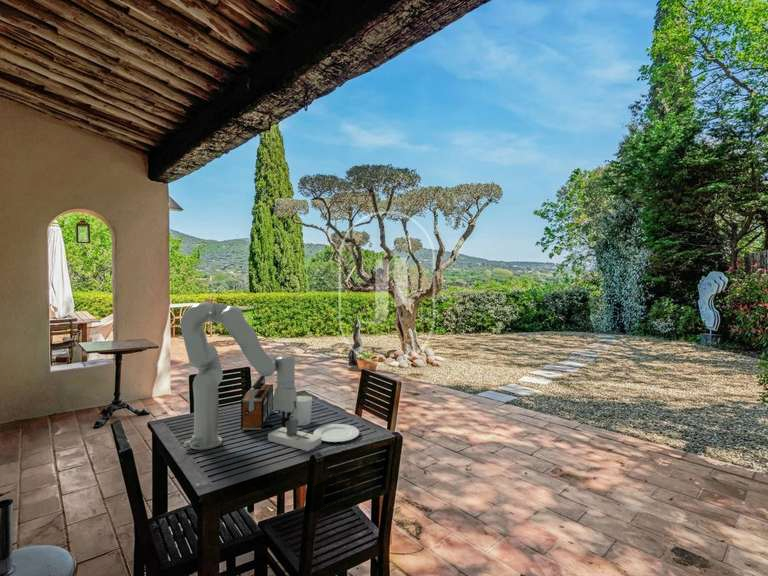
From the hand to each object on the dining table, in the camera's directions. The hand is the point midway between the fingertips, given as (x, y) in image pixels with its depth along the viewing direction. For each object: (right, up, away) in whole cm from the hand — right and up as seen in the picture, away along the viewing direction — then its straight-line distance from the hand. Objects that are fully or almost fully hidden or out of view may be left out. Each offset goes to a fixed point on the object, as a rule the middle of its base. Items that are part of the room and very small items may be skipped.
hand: (285, 425), depth 177 cm
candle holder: (+3, -6, +21) cm, 22 cm away
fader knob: (+3, -3, -2) cm, 5 cm away
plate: (+22, -7, +6) cm, 24 cm away
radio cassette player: (-19, -6, +22) cm, 30 cm away
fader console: (+5, -6, -2) cm, 8 cm away
